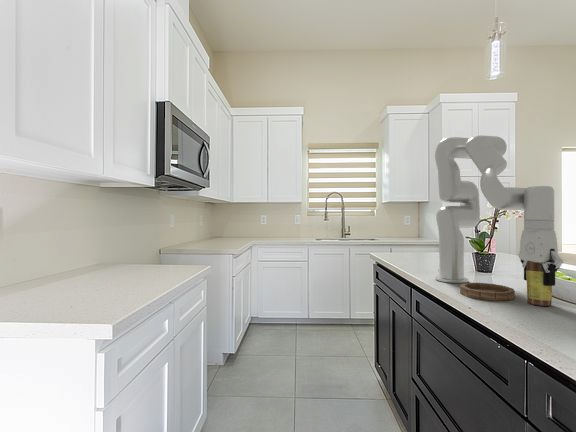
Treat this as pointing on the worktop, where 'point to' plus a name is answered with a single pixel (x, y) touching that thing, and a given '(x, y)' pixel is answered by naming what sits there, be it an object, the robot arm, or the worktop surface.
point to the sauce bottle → (537, 285)
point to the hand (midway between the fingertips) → (538, 282)
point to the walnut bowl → (487, 291)
